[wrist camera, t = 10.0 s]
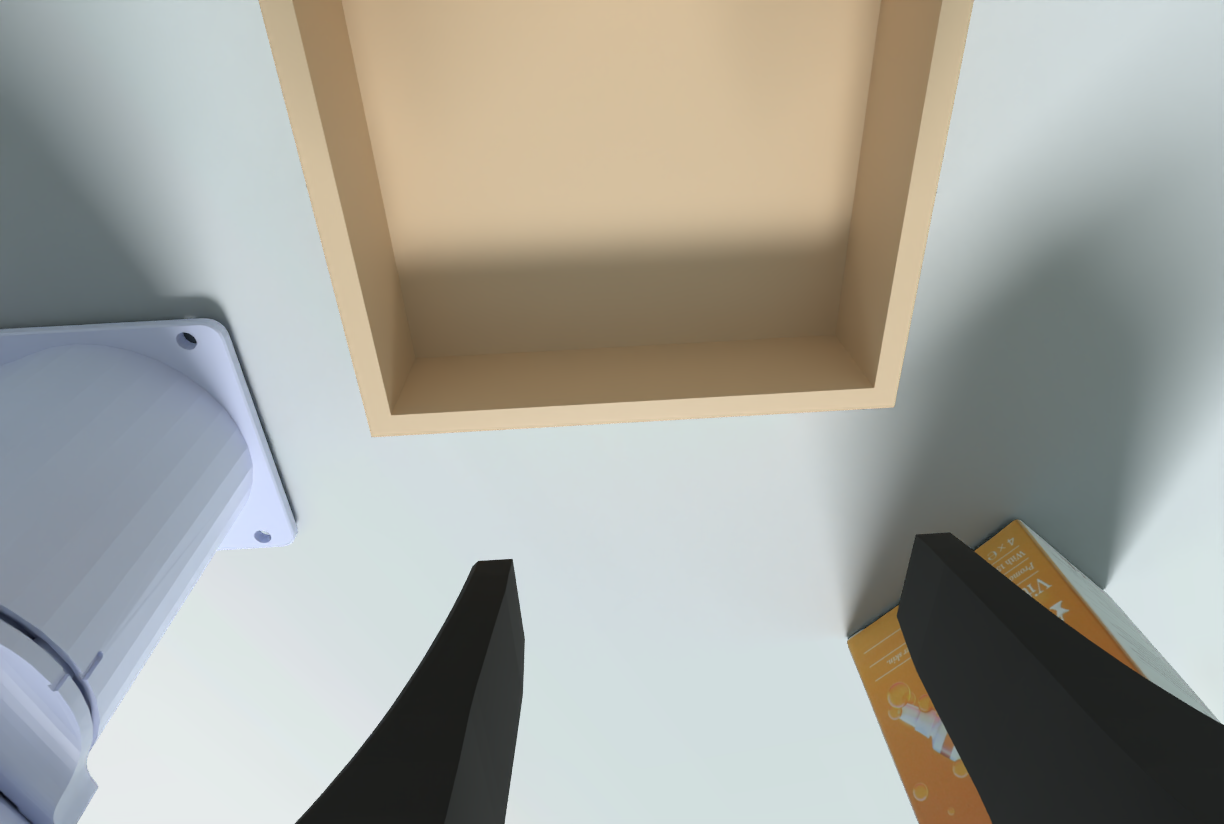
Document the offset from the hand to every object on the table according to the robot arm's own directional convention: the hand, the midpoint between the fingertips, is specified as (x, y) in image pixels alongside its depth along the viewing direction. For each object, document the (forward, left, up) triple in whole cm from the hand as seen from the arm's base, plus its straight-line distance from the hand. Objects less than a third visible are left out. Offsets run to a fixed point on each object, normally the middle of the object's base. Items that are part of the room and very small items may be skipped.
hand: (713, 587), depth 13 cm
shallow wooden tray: (-1, +6, -9) cm, 11 cm away
